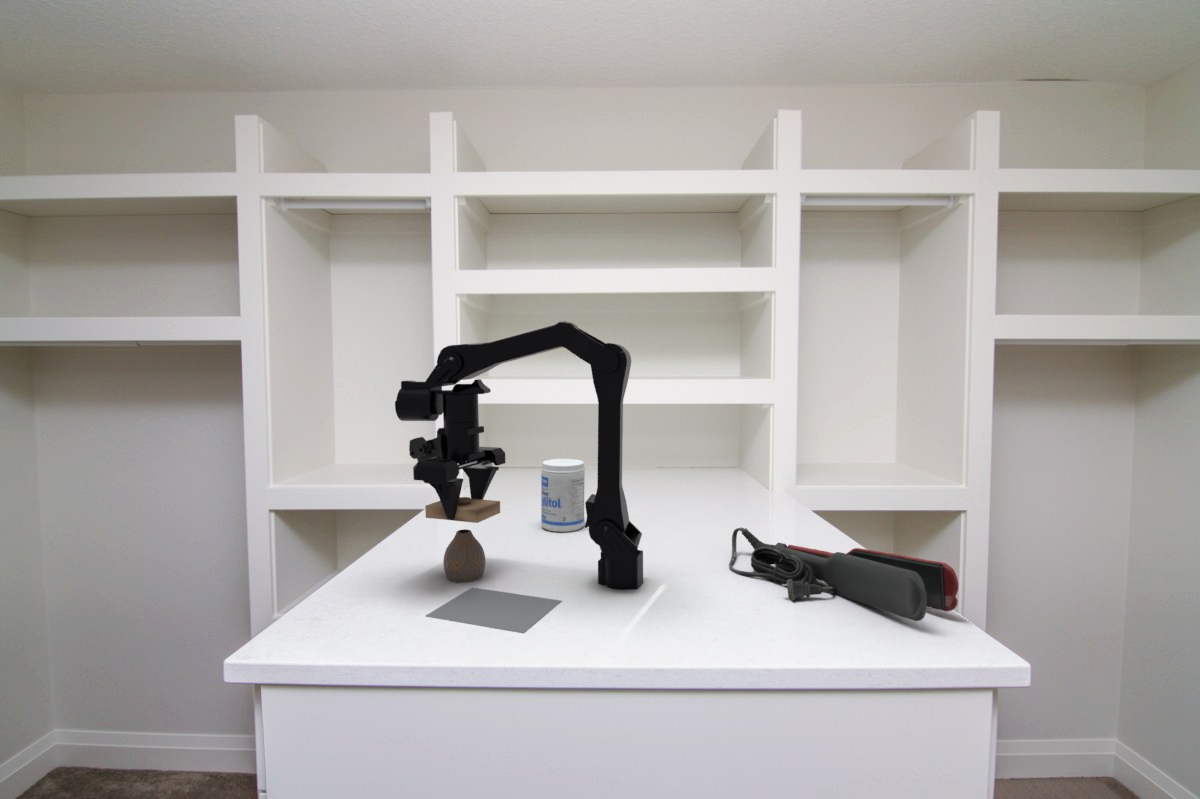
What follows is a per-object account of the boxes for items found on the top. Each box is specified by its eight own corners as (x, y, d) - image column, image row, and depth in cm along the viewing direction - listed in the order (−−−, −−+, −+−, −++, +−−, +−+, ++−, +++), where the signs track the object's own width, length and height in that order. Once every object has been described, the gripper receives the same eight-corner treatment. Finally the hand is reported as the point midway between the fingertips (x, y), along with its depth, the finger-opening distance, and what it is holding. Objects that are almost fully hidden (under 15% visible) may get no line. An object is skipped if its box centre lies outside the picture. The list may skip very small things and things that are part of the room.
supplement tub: (533, 529, 138) (532, 463, 137) (555, 519, 147) (555, 457, 146) (571, 535, 134) (570, 466, 133) (592, 524, 142) (592, 460, 141)
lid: (500, 512, 107) (499, 496, 107) (477, 522, 101) (477, 505, 100) (450, 508, 111) (450, 492, 111) (425, 517, 104) (425, 501, 104)
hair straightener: (755, 549, 124) (756, 508, 123) (962, 622, 89) (963, 565, 89) (694, 563, 116) (694, 519, 115) (894, 649, 81) (896, 586, 81)
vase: (476, 591, 102) (475, 538, 102) (436, 588, 104) (435, 535, 103) (491, 576, 109) (490, 526, 109) (454, 574, 111) (453, 524, 110)
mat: (562, 607, 95) (562, 600, 95) (524, 640, 84) (524, 633, 84) (472, 593, 101) (471, 587, 101) (425, 622, 90) (424, 616, 90)
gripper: (453, 415, 116) (455, 498, 117) (383, 425, 99) (386, 523, 100) (506, 416, 112) (507, 503, 113) (442, 427, 95) (445, 530, 96)
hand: (463, 514), depth 106 cm, fingers closed on lid, 7 cm apart
